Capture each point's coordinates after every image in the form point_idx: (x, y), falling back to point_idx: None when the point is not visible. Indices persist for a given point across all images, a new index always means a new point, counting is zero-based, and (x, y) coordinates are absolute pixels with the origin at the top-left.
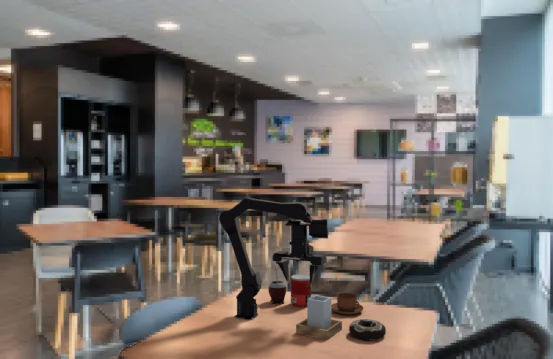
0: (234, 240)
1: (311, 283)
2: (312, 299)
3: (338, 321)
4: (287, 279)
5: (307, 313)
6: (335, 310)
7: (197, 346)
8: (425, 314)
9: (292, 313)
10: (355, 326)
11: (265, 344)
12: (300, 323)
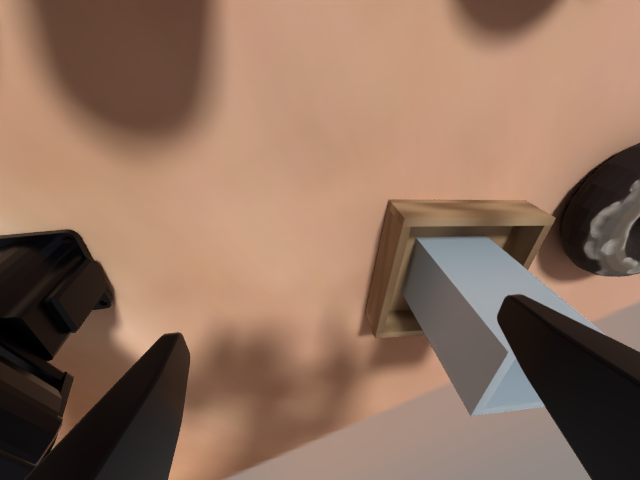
0: None
1: (510, 320)
2: (498, 408)
3: (537, 224)
4: (184, 375)
5: (432, 347)
6: None
7: (183, 469)
8: None
9: (215, 93)
10: (607, 269)
11: (320, 399)
12: (385, 320)
